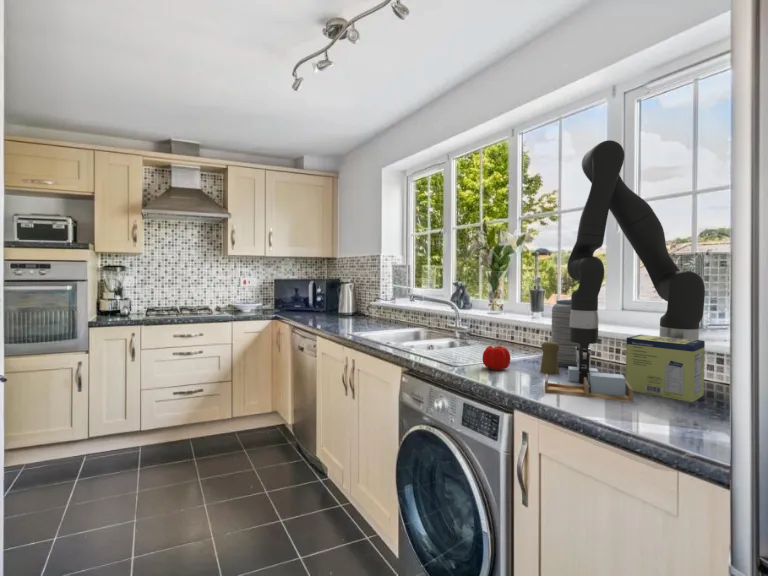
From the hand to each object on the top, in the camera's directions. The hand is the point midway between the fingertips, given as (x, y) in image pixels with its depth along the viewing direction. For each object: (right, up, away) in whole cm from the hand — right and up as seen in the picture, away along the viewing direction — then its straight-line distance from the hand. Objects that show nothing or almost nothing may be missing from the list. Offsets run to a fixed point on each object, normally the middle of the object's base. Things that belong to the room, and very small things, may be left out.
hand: (582, 383), depth 125 cm
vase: (+8, 0, +29) cm, 30 cm away
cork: (-5, 0, +11) cm, 12 cm away
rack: (-5, -1, -13) cm, 14 cm away
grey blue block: (0, -1, 0) cm, 1 cm away
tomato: (-20, 0, +22) cm, 29 cm away
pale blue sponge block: (-1, +1, -15) cm, 15 cm away
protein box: (+16, -1, -12) cm, 20 cm away
